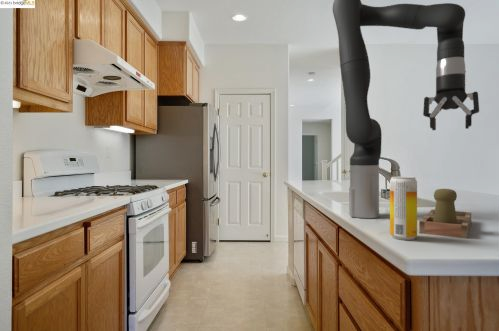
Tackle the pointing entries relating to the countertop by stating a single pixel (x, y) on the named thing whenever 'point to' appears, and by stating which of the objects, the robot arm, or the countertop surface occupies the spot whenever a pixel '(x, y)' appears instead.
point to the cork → (445, 206)
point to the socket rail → (446, 225)
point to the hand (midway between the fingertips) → (450, 129)
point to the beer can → (403, 207)
